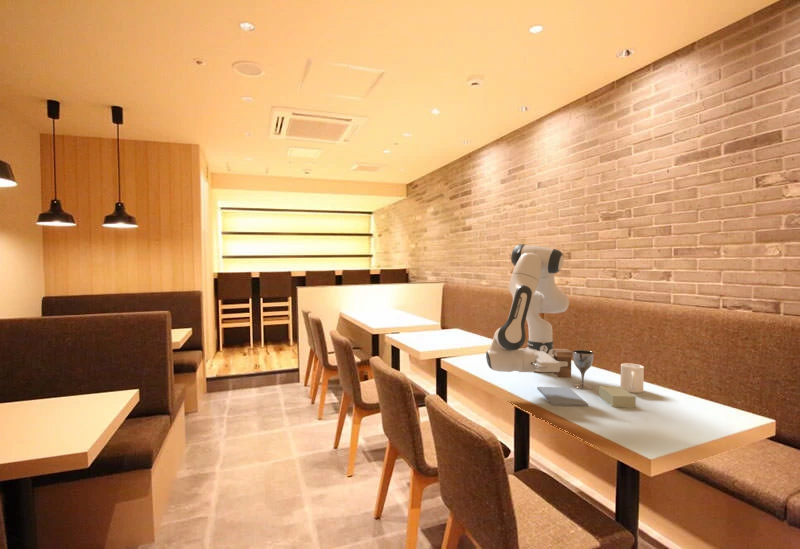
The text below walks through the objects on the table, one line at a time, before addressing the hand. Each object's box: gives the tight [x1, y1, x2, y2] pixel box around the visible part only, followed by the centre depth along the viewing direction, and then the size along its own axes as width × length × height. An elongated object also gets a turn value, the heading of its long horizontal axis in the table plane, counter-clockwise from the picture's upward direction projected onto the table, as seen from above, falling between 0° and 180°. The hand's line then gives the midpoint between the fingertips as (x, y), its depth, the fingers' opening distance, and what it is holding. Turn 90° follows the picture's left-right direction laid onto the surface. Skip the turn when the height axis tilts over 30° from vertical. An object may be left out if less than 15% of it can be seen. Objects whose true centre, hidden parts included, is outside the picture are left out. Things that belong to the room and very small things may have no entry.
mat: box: [537, 386, 589, 407], centre depth 159 cm, size 20×13×1 cm, turn 176°
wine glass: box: [572, 349, 594, 390], centre depth 172 cm, size 8×8×15 cm
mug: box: [619, 362, 645, 394], centre depth 166 cm, size 12×8×10 cm
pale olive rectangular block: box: [598, 385, 637, 408], centre depth 154 cm, size 12×8×4 cm, turn 176°
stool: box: [552, 348, 573, 379], centre depth 159 cm, size 6×11×11 cm
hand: (564, 361), depth 158 cm, fingers closed on stool, 5 cm apart
